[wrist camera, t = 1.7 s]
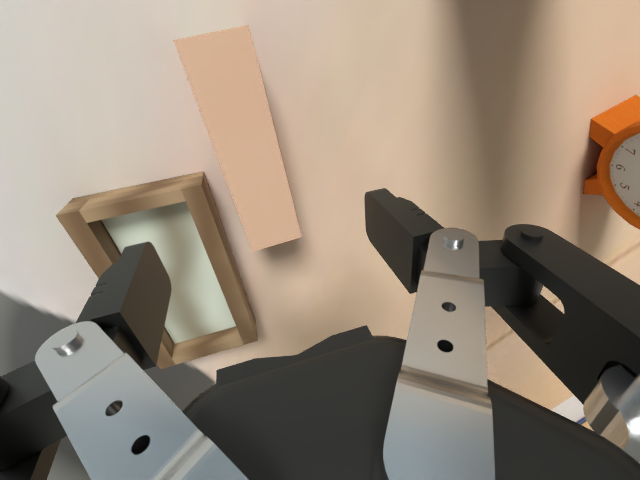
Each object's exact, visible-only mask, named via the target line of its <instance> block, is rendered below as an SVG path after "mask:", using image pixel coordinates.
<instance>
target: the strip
mask: <svg viewBox="0 0 640 480" xmlns="http://www.w3.org/2000/svg"><path fill="white" fill-rule="evenodd" d="M174 42H175V45H176V48H177V51H178V53H179V56H180V59H181V61H182V64H183V67H184V69H185V72H186V75H187V77H188V80H189V83H190V86H191V88H192V91H193V94H194V96H195V99H196V102H197V104H198V107H199V110H200V112H201V115H202V118H203V121H204V123H205V126H206V129H207V131H208V134H209V137H210V139H211V142H212V145H213V147H214V150H215V153H216V155H217V158H218V161H219V164H220V166H221V169H222V172H223V174H224V177H225V180H226V182H227V185H228V188H229V190H230V193H231V196H232V199H233V201H234V204H235V207H236V209H237V212H238V215H239V217H240V220H241V223H242V225H243V228H244V231H245V234H246V236H247V239H248V242H249V244H250V247H251V250H252V252H253V251H257V250H260V249H263V248H267V247H270V246H274V245H277V244H280V243H284V242H287V241H290V240H294V239H297V238H300V237H302V236H301V232H300V228H299V224H298V220H297V216H296V212H295V208H294V204H293V200H292V196H291V192H290V188H289V185H288V181H287V177H286V173H285V169H284V165H283V161H282V157H281V153H280V149H279V145H278V141H277V137H276V133H275V129H274V125H273V121H272V117H271V113H270V109H269V105H268V101H267V97H266V93H265V89H264V85H263V81H262V77H261V73H260V69H259V65H258V61H257V57H256V53H255V49H254V45H253V41H252V37H251V33H250V29H249V25H246V26H241V27H236V28H231V29H227V30H222V31H217V32H212V33H207V34H202V35H197V36H192V37H188V38H183V39H178V40H174Z"/></svg>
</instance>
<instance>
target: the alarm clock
mask: <svg viewBox="0 0 640 480" xmlns="http://www.w3.org/2000/svg"><path fill="white" fill-rule="evenodd" d="M589 137H591V138H592V139H593V140H594V141H596V142H597V143H598V144H599V145H601V146H602V147H603V149H602V151H601V154H600V157H599V160H598V163H597V174H595V175H594V176H592V177H590V178H588V179H586V180H585V182H584V192H583V194H599V195H603V196H604V197H605V199H606V200H607V201H608V203H609V204H610V205H611V207H612V208H613V209H614V211H615V212H616V213H618V214H619V215H620V216H621V217H622V218H623V219H625V220H626V221H627V222H628V223H629V224H631V225H633V226H634V227H636V228H638V229H640V97H639V96H637V95H635V96H633V97H631V98H629V99H628V100H626V101H624V102H622V103H620V104H618V105H616V106H615V107H613V108H611V109H609V110H607V111H605V112H603V113H602V114H600V115H598V116H596V117H594V118H592V119H591V126H590V135H589Z"/></svg>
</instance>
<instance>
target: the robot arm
mask: <svg viewBox="0 0 640 480" xmlns="http://www.w3.org/2000/svg"><path fill="white" fill-rule="evenodd" d="M365 221H366V232H367V235H368V238H369V240H370V242H371V243H372V245H373V246H374V247H375V249H376V250H377V251H378V252H379V254H380V255H381V256H382V258H383V259H384V260H385V262H386V263H387V264H388V266H389V267H390V268H391V269H392V271H393V272H394V273H395V275H396V276H397V277H398V279H399V280H400V281H401V283H402V284H403V285H404V287H405V288H406V289H407V290H408V292H409V293H410V294H411V293H414V292H417V294H416V299H415V304H414V309H413V313H412V318H411V323H410V328H409V333H408V338H407V340H404V339H400V338H396V337H389V336H372V335H371V333H370V331H369V329H368V327H367V325H366V326H362V327H359V328H356V329H352V330H349V331H346V332H342V333H339V334H336V335H332V336H330V337H329V338H327V339H325V340H323V341H321V342H320V343H318V344H316V345H314V346H313V347H311V348H309V349H307V350H305V351H304V352H302V353H300V354H298V355H294V356H282V357H269V358H256V359H252V360H249V361H246V362H242V363H239V364H236V365H232V366H229V367H226V368H222V369H219V370H217V379H216V384H215V385H213V386H212V387H210V388H209V389H207V390H206V391H204V392H203V393H201V394H200V395H199V396H198V397H196V399H194V400H193V401H192V402H191V403H190V404H189V405H188V406H187V407H186V408H185V409H184V410H183V411H181V410H180V409H179V408H178V407H177V406H176V405H175V404H174V403H173V402H172V401H171V400H170V399H169V397H168V396H167V395H166V394H165V393H164V392H163V391H162V390H161V389H160V388H159V387H158V386H157V385H156V384H155V383H154V381H152V379H151V378H150V377H149V376H148V375H147V374H146V373H145V372H144V371H143V370H144V369H148V368H151V367H155V366H156V364H157V359H158V355H159V350H160V345H161V340H162V335H163V330H164V326H165V321H166V316H167V311H168V306H169V301H170V296H171V291H172V288H171V281H170V278H169V275H168V273H167V271H166V269H165V267H164V265H163V263H162V261H161V259H160V257H159V255H158V253H157V251H156V249H155V247H154V246H153V244H152V243H151V242H144V243H139V244H135V245H131V246H126V247H125V248H124V250H123V252H122V254H121V256H120V258H119V260H118V262H117V263H115V264H112V265H111V266H110V267H109V268H108V269H107V270H106V271H105V272H104V273H103V274H102V275H101V276H100V278H99V280H98V282H97V284H96V287H95V288H94V289H93V291H92V293H91V296H90V297H89V299H88V301H87V303H86V304H85V306H84V308H83V310H82V312H81V314H80V316H79V318H78V320H77V321H76V323H75V324H73V325H70V326H68V327H66V328H64V329H62V330H60V331H58V332H57V333H55V334H54V335H53V336H51V337H50V338H49V339H48V340H47V341H45V342H44V344H43V345H42V346H41V347H40V348H39V350H38V351H37V353H36V356H35V361H33V362H31V363H29V364H27V365H25V366H23V367H21V368H18V369H16V370H14V371H12V372H10V373H8V374H6V375H3V376H0V480H47V477H48V474H49V471H50V469H51V466H52V463H53V460H54V457H55V454H56V452H57V449H58V446H59V443H60V440H61V439H62V438H64V437H65V436H68V437H69V439H70V441H71V443H72V445H73V447H74V448H75V450H76V452H77V454H78V456H79V458H80V460H81V462H82V463H83V465H84V467H85V469H86V471H87V473H88V474H89V476H90V478H91V480H640V285H638V284H637V283H635V282H634V281H632V280H630V279H629V278H627V277H625V276H624V275H622V274H620V273H619V272H617V271H616V270H614V269H612V268H611V267H609V266H607V265H606V264H604V263H602V262H601V261H599V260H598V259H596V258H594V257H593V256H591V255H589V254H588V253H586V252H584V251H583V250H581V249H580V248H578V247H576V246H575V245H573V244H571V243H570V242H568V241H566V240H565V239H563V238H562V237H560V236H558V235H557V234H555V233H553V232H552V231H550V230H548V229H545V228H543V227H540V226H535V225H528V224H518V225H513V226H510V227H508V228H507V229H506V230H505V233H504V237H503V240H492V241H478V239H477V237H476V236H475V235H473V234H472V233H470V232H468V231H465V230H462V229H457V228H444V227H442V226H441V225H440V224H439V223H437V222H436V221H435V220H434V219H432V218H431V217H430V216H429V215H428V214H425V212H424V211H423V210H421V209H419V207H418V206H416V205H415V204H414V203H413V202H412V201H409V200H406V199H404V198H401V197H398V198H396V197H395V196H394V195H393V194H391V193H390V192H389V191H388V190H387V189H385V188H383V189H378V190H374V191H370V192H366V194H365ZM543 285H544V286H545V287H546V288H547V289H549V290H550V291H551V292H552V293H554V294H555V295H556V296H557V297H558V298H559V299H560V300H561V302H562V304H563V306H564V311H565V313H564V314H563V313H562V312H561V311H560V310H558V309H557V308H556V307H555V306H554V305H553V304H551V303H550V302H549V301H548V300H547V299H545V298H544V297H543V296H542V295H541V294H540V293H541V290H542V287H543ZM485 306H491V307H492V308H493V309H494V310H495V311H496V312H497V313H498V314H499V315H500V316H501V317H502V319H503V320H504V321H505V322H506V323H507V324H508V325H509V326H510V327H511V328H512V329H513V330H514V331H515V332H516V333H517V335H518V336H519V337H520V338H521V339H522V340H523V341H524V342H525V343H526V344H527V345H528V346H529V347H530V348H531V349H532V350H533V352H534V353H535V354H536V355H537V356H538V357H539V358H540V359H541V360H542V361H543V362H544V363H545V364H546V365H547V366H548V368H549V369H550V370H551V371H552V372H553V373H554V374H555V375H556V376H557V377H558V378H559V379H560V380H561V381H562V382H563V384H564V385H565V386H566V387H567V388H568V389H569V390H570V391H571V392H572V393H573V394H574V395H575V396H576V397H577V398H578V399H579V401H580V402H581V403H582V404H583V405H584V407H583V410H584V415H585V417H586V420H587V422H588V423H589V425H590V427H591V428H592V429H593V431H592V430H590V429H588V428H586V427H584V426H582V425H580V424H578V423H576V422H574V421H571V420H569V419H567V418H565V417H563V416H561V415H559V414H557V413H555V412H553V411H551V410H549V409H547V408H545V407H543V406H541V405H539V404H537V403H535V402H533V401H531V400H529V399H527V398H525V397H523V396H521V395H519V394H517V393H515V392H512V391H510V390H508V389H506V388H504V387H502V386H500V385H498V384H496V383H494V382H492V381H490V380H488V379H487V357H486V327H485Z"/></svg>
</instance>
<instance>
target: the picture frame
mask: <svg viewBox="0 0 640 480" xmlns="http://www.w3.org/2000/svg"><path fill="white" fill-rule="evenodd" d="M56 217H57V218H58V220H59V221H60V223H61V224H62V225H63V227H64V228H65V230H66V231H67V233H68V234H69V236H70V237H71V239H72V240H73V242H74V243H75V244H76V246H77V247H78V249H79V250H80V252H81V253H82V255H83V256H84V258H85V259H86V261H87V262H88V264H89V265H90V266H91V268H92V269H93V271H94V272H95V274H96V275H97V277H98V278H100V276H101V275H102V274H103V273H104V272H105V271H106V270H107V269H108V268H109V267H110V266H111V265H112V264H115V263H117V262H118V260H119V258H120V256H121V254H122V252H123V250H124V248H125V247H126V246H131V245H135V244H139V243H144V242H151V243H152V244H153V246H154V247H155V249H156V251H157V253H158V255H159V257H160V259H161V261H162V263H163V265H164V267H165V269H166V271H167V273H168V275H169V278H170V281H171V288H172V291H171V296H170V301H169V306H168V311H167V316H166V321H165V326H164V330H163V335H162V340H161V345H160V350H159V355H158V359H157V365H158V366H159V368H160V369H163V368H166V367H169V366H173V365H176V364H180V363H183V362H186V361H190V360H193V359H197V358H200V357H203V356H207V355H210V354H213V353H217V352H220V351H224V350H227V349H230V348H234V347H237V346H241V345H244V344H247V343H251V342H254V341H257V340H258V339H257V331H256V323H255V318H254V315H253V313H252V310H251V307H250V304H249V301H248V298H247V295H246V292H245V290H244V287H243V284H242V281H241V278H240V275H239V272H238V269H237V267H236V264H235V261H234V258H233V255H232V252H231V249H230V246H229V244H228V241H227V238H226V235H225V232H224V229H223V226H222V223H221V221H220V218H219V215H218V212H217V209H216V206H215V203H214V200H213V198H212V195H211V192H210V189H209V186H208V183H207V180H206V178H205V175H204V172H199V173H194V174H189V175H184V176H179V177H174V178H170V179H165V180H160V181H155V182H150V183H145V184H141V185H136V186H131V187H126V188H121V189H116V190H112V191H107V192H102V193H97V194H92V195H87V196H83V197H78V198H73V199H72V200H71V201H70V202H69V203H68V204H67V205H66V206H65V207H64V208H63V209H62V210H61V211H60V212H59V213H58V214H57V215H56Z"/></svg>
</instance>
